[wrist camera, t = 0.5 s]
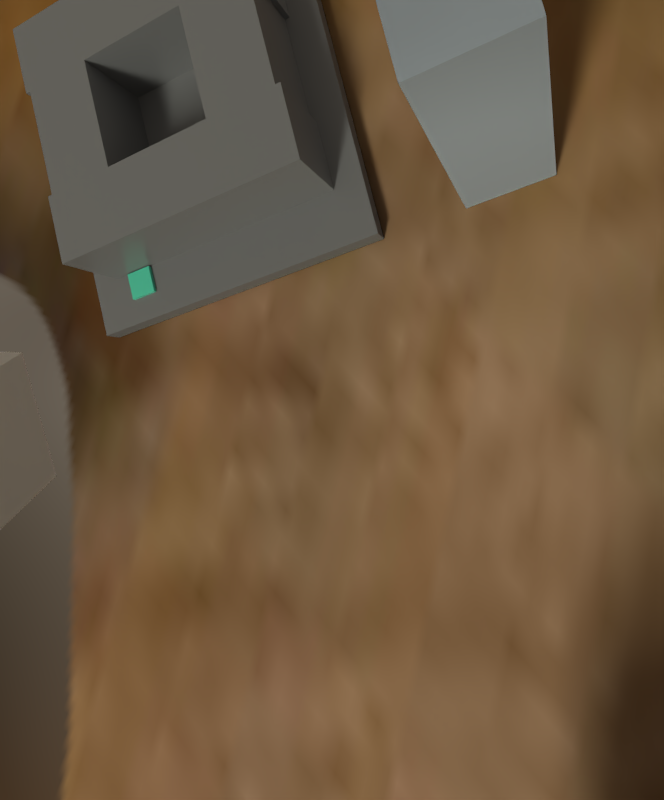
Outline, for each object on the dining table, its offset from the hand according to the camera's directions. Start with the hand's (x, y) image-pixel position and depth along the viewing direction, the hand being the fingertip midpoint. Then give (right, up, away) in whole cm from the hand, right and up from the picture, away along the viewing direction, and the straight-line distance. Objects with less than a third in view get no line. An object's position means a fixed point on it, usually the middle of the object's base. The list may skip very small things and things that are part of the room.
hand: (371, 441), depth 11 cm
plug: (+7, +12, +17) cm, 22 cm away
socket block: (-8, +15, +23) cm, 28 cm away
